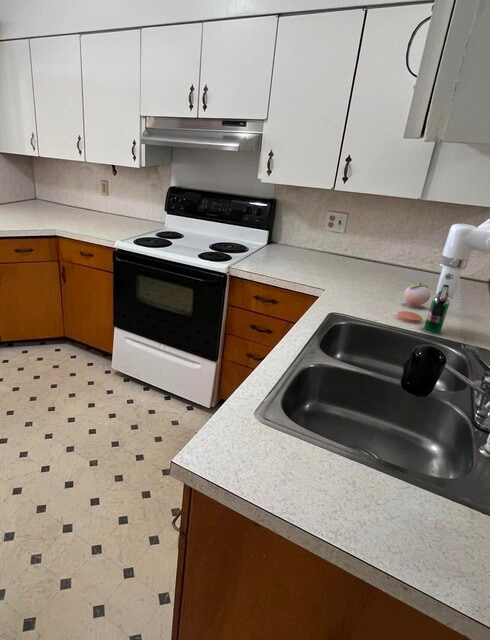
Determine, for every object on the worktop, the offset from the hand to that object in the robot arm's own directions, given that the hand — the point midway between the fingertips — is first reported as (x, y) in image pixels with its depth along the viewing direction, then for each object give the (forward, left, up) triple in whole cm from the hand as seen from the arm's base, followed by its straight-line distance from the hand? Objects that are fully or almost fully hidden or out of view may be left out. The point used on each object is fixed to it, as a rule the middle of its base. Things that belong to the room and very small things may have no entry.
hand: (437, 312), depth 146 cm
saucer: (+8, -6, -7) cm, 12 cm away
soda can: (0, 0, -7) cm, 7 cm away
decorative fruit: (+8, -22, -7) cm, 24 cm away
